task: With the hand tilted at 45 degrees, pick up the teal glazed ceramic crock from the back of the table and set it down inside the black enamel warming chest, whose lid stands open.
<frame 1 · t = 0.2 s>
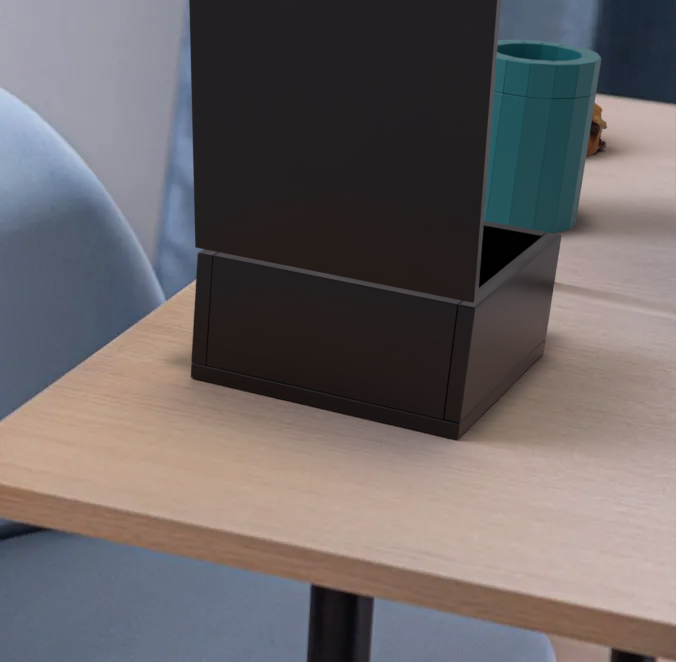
chest: (372, 365, 88), on the table
chest lid: (335, 123, 76), point 14 cm above the table, hinge at 100.0°
bread roll: (529, 155, 129), on the table
crock: (513, 228, 111), on the table
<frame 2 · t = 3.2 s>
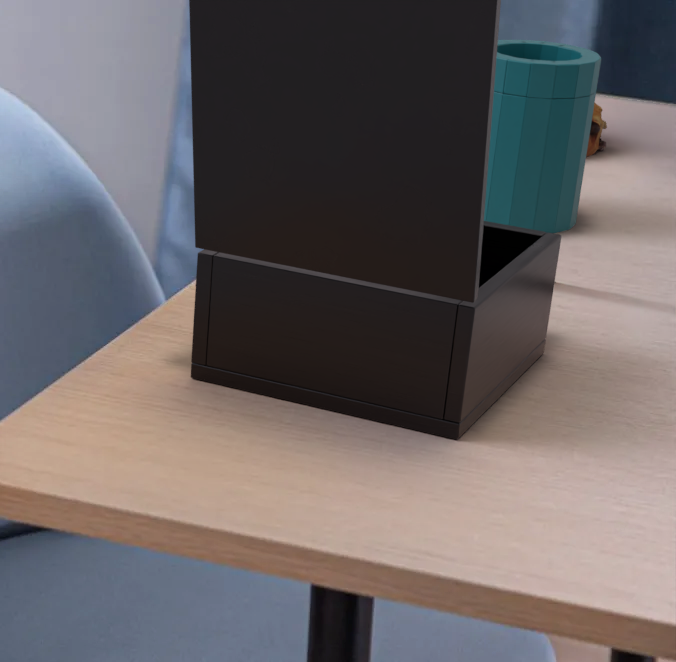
nothing on the table moved.
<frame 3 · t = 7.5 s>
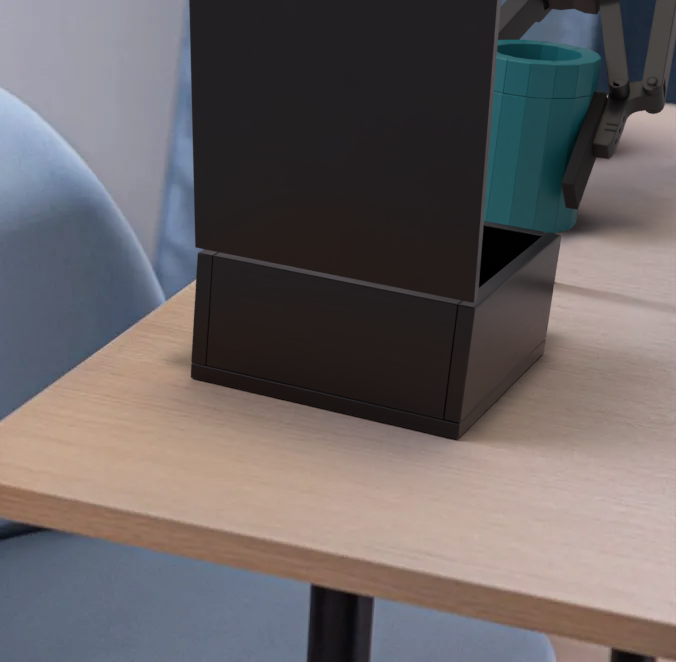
hand: (504, 185, 107), 4 cm above the table, tool tilted 45°, fingers closed on crock, 7 cm apart
crock: (513, 228, 111), on the table, touching gripper
everything else where it was.
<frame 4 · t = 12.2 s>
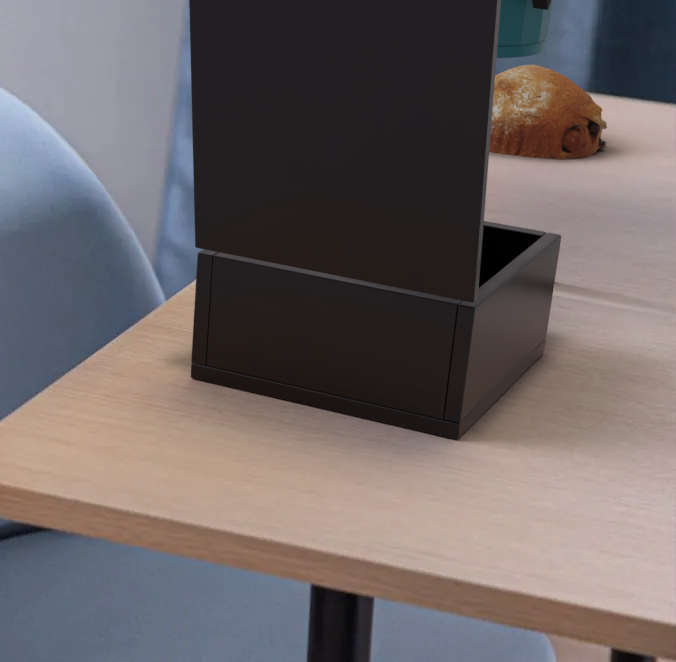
crock: (472, 43, 92), point 14 cm above the table, touching gripper
everything else where it was.
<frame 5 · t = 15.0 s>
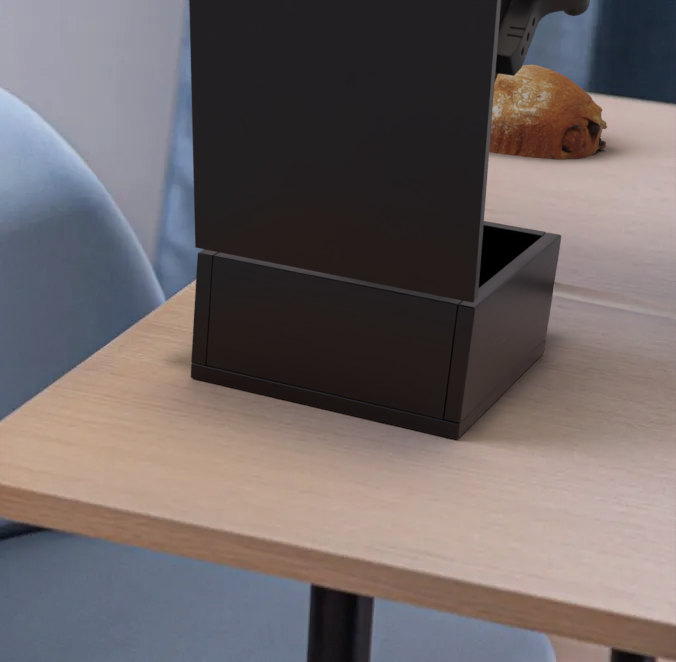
hand: (373, 111, 80), 13 cm above the table, tool tilted 45°, fingers closed on crock, 7 cm apart
crock: (392, 172, 84), point 10 cm above the table, touching gripper
everything else where it was.
when the fingers open (7 cm above the table, at t = 17.3 s): crock drops 3 cm, resting on chest.
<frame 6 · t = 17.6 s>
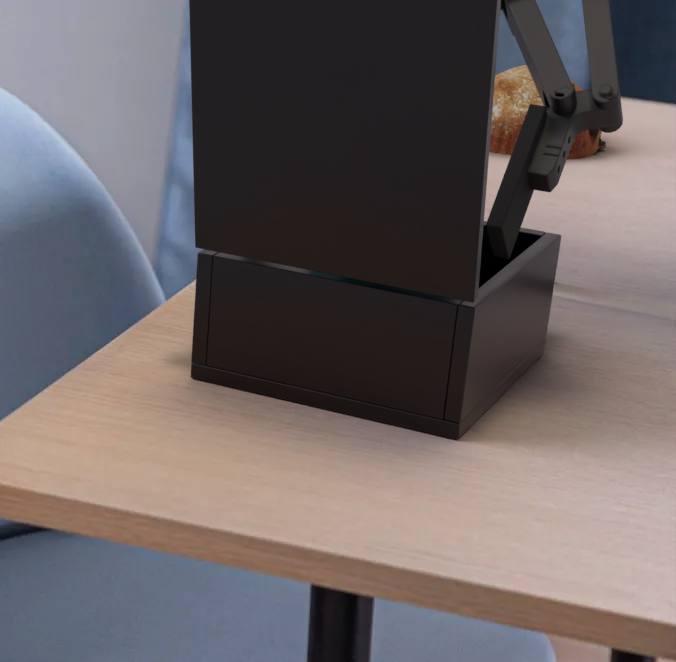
hand: (370, 220, 82), 8 cm above the table, tool tilted 45°, fingers open, 12 cm apart
crock: (375, 350, 88), point 1 cm above the table, touching chest
everything else where it was.
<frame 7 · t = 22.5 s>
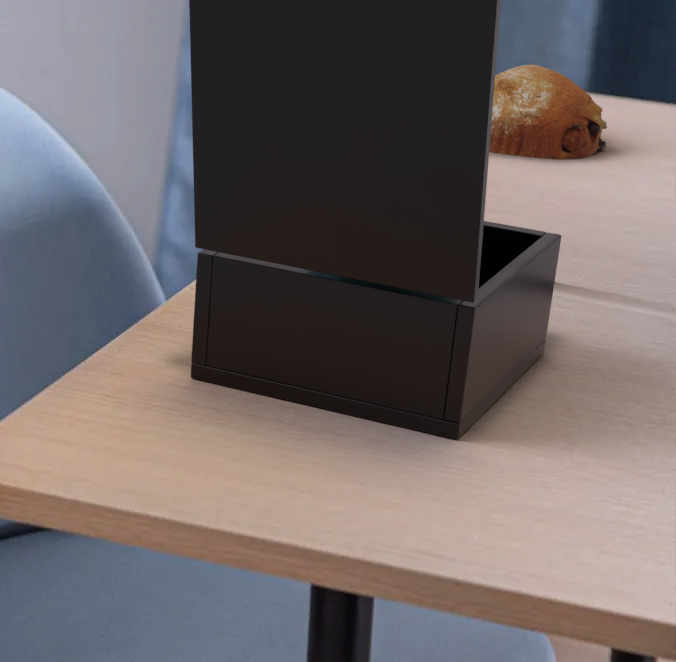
nothing on the table moved.
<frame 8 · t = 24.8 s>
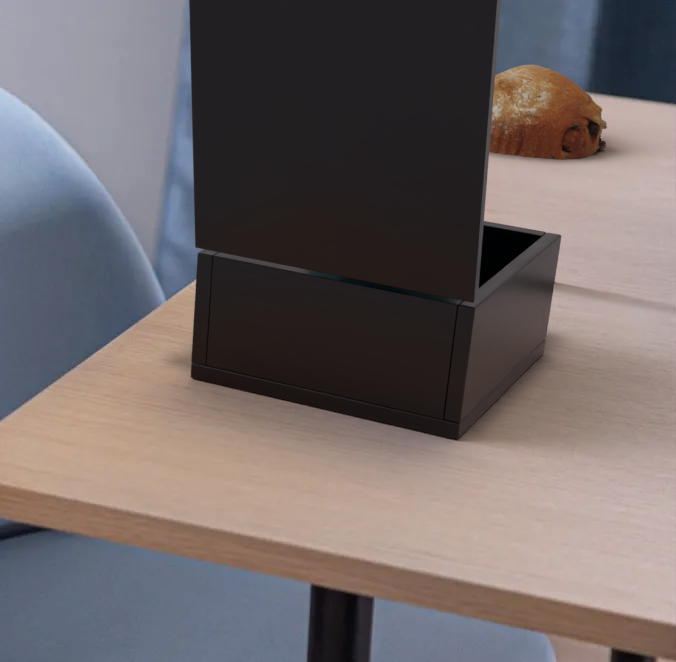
nothing on the table moved.
at the end: crock inside the target area in the chest (0.0 cm from its centre), point 0.8 cm above the chest's base; crock tilted 0°; the gripper is holding nothing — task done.
